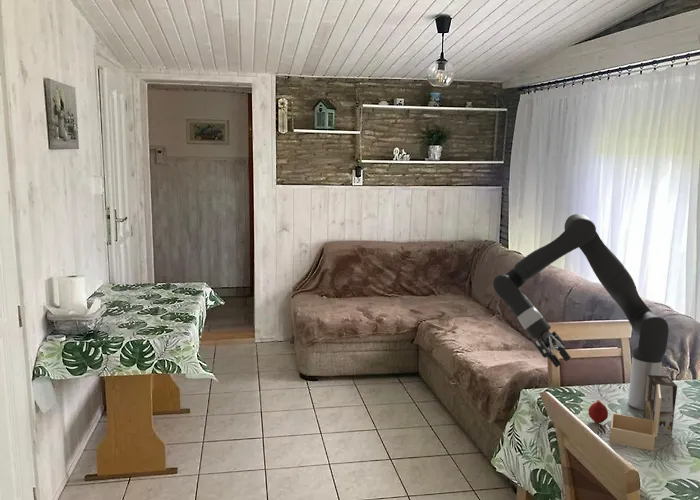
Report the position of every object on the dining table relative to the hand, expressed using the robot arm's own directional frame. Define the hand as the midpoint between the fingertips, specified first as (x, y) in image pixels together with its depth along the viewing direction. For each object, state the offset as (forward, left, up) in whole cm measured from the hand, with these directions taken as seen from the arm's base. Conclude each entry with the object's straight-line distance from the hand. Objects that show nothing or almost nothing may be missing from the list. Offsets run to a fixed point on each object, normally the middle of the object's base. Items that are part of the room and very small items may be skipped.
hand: (563, 362), depth 194 cm
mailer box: (+10, +22, -17) cm, 30 cm away
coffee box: (-2, +29, -18) cm, 34 cm away
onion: (+4, +12, -18) cm, 22 cm away
